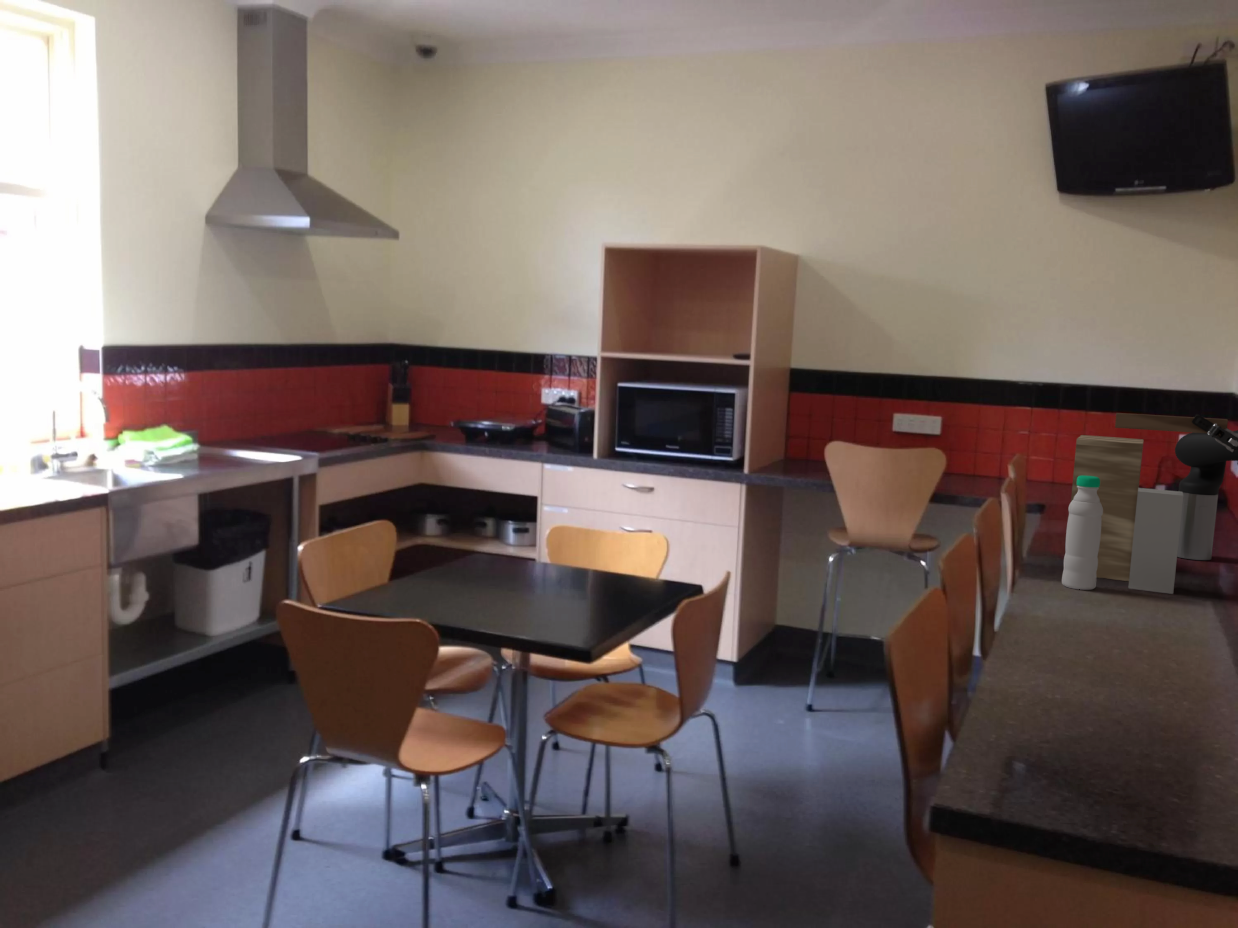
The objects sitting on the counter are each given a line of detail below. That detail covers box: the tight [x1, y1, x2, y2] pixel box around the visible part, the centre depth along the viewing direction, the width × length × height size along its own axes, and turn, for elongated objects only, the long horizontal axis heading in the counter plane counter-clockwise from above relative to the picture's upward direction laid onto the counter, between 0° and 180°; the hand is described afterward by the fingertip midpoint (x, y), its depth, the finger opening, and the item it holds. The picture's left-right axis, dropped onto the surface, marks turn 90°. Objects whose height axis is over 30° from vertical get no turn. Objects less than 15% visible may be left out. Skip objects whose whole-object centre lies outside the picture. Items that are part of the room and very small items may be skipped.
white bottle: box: [1061, 475, 1103, 591], centre depth 240 cm, size 7×7×25 cm
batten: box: [1114, 412, 1229, 434], centre depth 240 cm, size 3×22×3 cm, turn 64°
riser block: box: [1128, 487, 1183, 595], centre depth 243 cm, size 8×9×22 cm
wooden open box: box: [1070, 434, 1145, 582], centre depth 260 cm, size 18×14×32 cm
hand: (1194, 418), depth 238 cm, fingers closed on batten, 3 cm apart
